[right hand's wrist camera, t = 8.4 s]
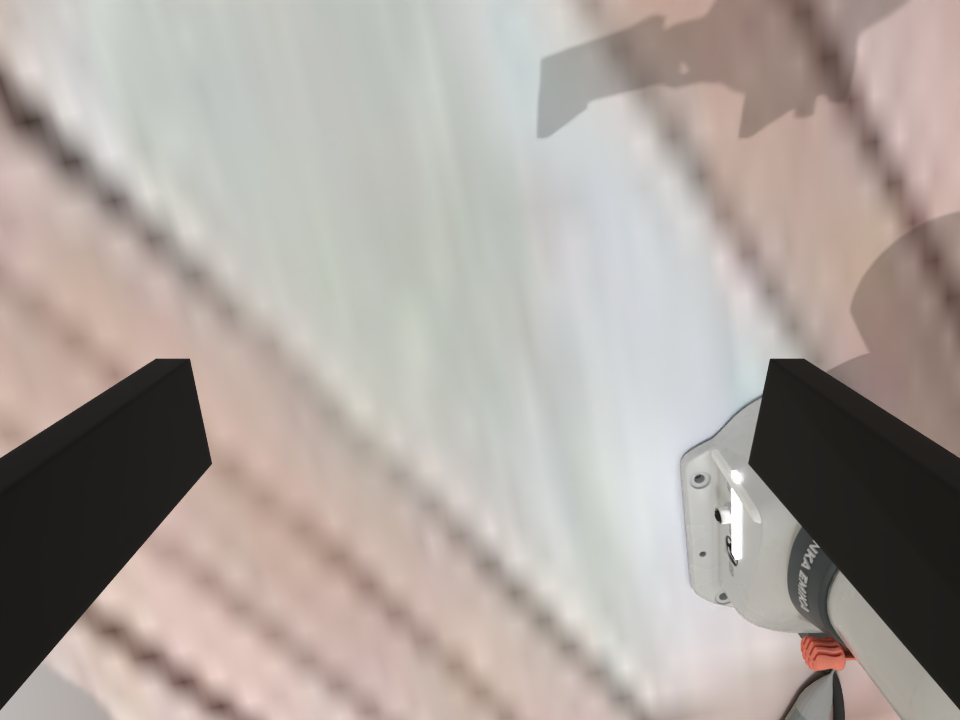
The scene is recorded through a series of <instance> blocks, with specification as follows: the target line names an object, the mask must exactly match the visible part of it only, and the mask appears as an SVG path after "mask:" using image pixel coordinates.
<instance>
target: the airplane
mask: <svg viewBox="0 0 960 720" xmlns="http://www.w3.org/2000/svg"><path fill="white" fill-rule="evenodd" d="M834 671H835V672H836V669H833V670H832V671H831V673H830V674H828V675H826V676H823V677H821V678H820V679H818V680H816V681H815V682H813V683H812V684H811V685H809V686H808V687H807V688H805V689H804V691H803V692H802V693H801V694H800V695H799V697H798V699H797V701H796V702H795V704H794V705H793V707H792V708H791V710H790V712H789V713H788V715H787V716H786V718H785V720H829V716H830V713H831V707H832V698H833V684H832V683H833V674H834Z"/></svg>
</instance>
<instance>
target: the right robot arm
mask: <svg viewBox="0 0 960 720" xmlns="http://www.w3.org/2000/svg"><path fill="white" fill-rule="evenodd" d="M211 464H212V461H211V457H210V452H209V447H208V442H207V438H206V433H205V428H204V423H203V419H202V414H201V409H200V405H199V400H198V395H197V390H196V386H195V381H194V376H193V371H192V367H191V362H190V359H155V360H153V361H152V362H150V363H149V364H147V365H145V366H144V367H142V368H141V369H139V370H138V371H136V372H134V373H133V374H131V375H130V376H128V377H127V378H125V379H124V380H122V381H120V382H119V383H117V384H116V385H114V386H113V387H111V388H109V389H108V390H106V391H105V392H103V393H102V394H100V395H98V396H97V397H95V398H94V399H92V400H91V401H89V402H87V403H86V404H84V405H83V406H81V407H80V408H78V409H77V410H75V411H73V412H72V413H70V414H69V415H67V416H66V417H64V418H62V419H61V420H59V421H58V422H56V423H55V424H53V425H51V426H50V427H48V428H47V429H45V430H44V431H42V432H41V433H39V434H37V435H36V436H34V437H33V438H31V439H30V440H28V441H26V442H25V443H23V444H22V445H20V446H19V447H17V448H15V449H14V450H12V451H11V452H9V453H8V454H6V455H4V456H3V457H1V458H0V710H1V709H2V708H3V706H4V705H5V704H6V703H7V702H8V701H9V699H10V698H11V697H12V696H13V695H14V694H15V692H16V691H17V690H18V689H19V688H20V687H21V685H22V684H23V683H24V682H25V681H26V680H27V679H28V677H29V676H30V675H31V674H32V673H33V671H34V670H35V669H36V668H37V667H38V666H39V665H40V663H41V662H42V661H43V660H44V659H45V658H46V656H47V655H48V654H49V653H50V652H51V651H52V649H53V648H54V647H55V646H56V645H57V644H58V642H59V641H60V640H61V639H62V638H63V637H64V635H65V634H66V633H67V632H68V631H69V630H70V628H71V627H72V626H73V625H74V624H75V623H76V621H77V620H78V619H79V618H80V617H81V616H82V615H83V613H84V612H85V611H86V610H87V609H88V608H89V606H90V605H91V604H92V603H93V602H94V601H95V599H96V598H97V597H98V596H99V595H100V594H101V592H102V591H103V590H104V589H105V588H106V587H107V585H108V584H109V583H110V582H111V581H112V580H113V578H114V577H115V576H116V575H117V574H118V573H119V571H120V570H121V569H122V568H123V567H124V566H125V564H126V563H127V562H128V561H129V560H130V559H131V557H132V556H133V555H134V554H135V553H136V552H137V550H138V549H139V548H140V547H141V546H142V545H143V544H144V542H145V541H146V540H147V539H148V538H149V537H150V535H151V534H152V533H153V532H154V531H155V530H156V528H157V527H158V526H159V525H160V524H161V523H162V521H163V520H164V519H165V518H166V517H167V516H168V514H169V513H170V512H171V511H172V510H173V509H174V507H175V506H176V505H177V504H178V503H179V502H180V500H181V499H182V498H183V497H184V496H185V495H186V493H187V492H188V491H189V490H190V489H191V488H192V486H193V485H194V484H195V483H196V482H197V481H198V480H199V478H200V477H201V476H202V475H203V474H204V473H205V471H206V470H207V469H208V468H209V467H210V466H211ZM748 464H749V466H750V467H751V468H752V469H753V470H754V471H755V473H756V474H757V475H758V476H759V477H760V478H761V480H762V481H763V482H764V483H765V484H766V485H767V486H768V488H769V489H770V490H771V491H772V492H773V493H774V495H775V496H776V497H777V498H778V499H779V500H780V502H781V503H782V504H783V505H784V506H785V507H786V509H787V510H788V511H789V512H790V513H791V514H792V516H793V517H794V518H795V519H796V520H797V521H798V523H799V524H800V525H801V526H802V527H803V528H804V530H805V531H806V532H807V533H808V534H809V535H810V537H811V538H812V539H813V540H814V541H815V542H816V544H817V545H818V546H819V547H820V548H821V549H822V550H823V552H824V553H825V554H826V555H827V556H828V557H829V559H830V560H831V561H832V562H833V563H834V564H835V566H836V567H837V568H838V569H839V570H840V571H841V573H842V574H843V575H844V576H845V577H846V578H847V580H848V581H849V582H850V583H851V584H852V585H853V587H854V588H855V589H856V590H857V591H858V592H859V594H860V595H861V596H862V597H863V598H864V599H865V601H866V602H867V603H868V604H869V605H870V606H871V608H872V609H873V610H874V611H875V612H876V613H877V615H878V616H879V617H880V618H881V619H882V620H883V621H884V623H885V624H886V625H887V626H888V627H889V628H890V630H891V631H892V632H893V633H894V634H895V635H896V637H897V638H898V639H899V640H900V641H901V642H902V644H903V645H904V646H905V647H906V648H907V649H908V651H909V652H910V653H911V654H912V655H913V656H914V658H915V659H916V660H917V661H918V662H919V663H920V665H921V666H922V667H923V668H924V669H925V670H926V672H927V673H928V674H929V675H930V676H931V677H932V679H933V680H934V681H935V682H936V683H937V684H938V685H939V687H940V688H941V689H942V690H943V691H944V692H945V694H946V695H947V696H948V697H949V698H950V699H951V701H952V702H953V703H954V704H955V705H956V706H957V708H958V709H959V710H960V458H959V457H957V456H956V455H954V454H952V453H951V452H949V451H948V450H946V449H945V448H943V447H941V446H940V445H938V444H937V443H935V442H934V441H932V440H930V439H929V438H927V437H926V436H924V435H923V434H921V433H919V432H918V431H916V430H915V429H913V428H912V427H910V426H909V425H907V424H905V423H904V422H902V421H901V420H899V419H898V418H896V417H894V416H893V415H891V414H890V413H888V412H887V411H885V410H883V409H882V408H880V407H879V406H877V405H876V404H874V403H873V402H871V401H869V400H868V399H866V398H865V397H863V396H862V395H860V394H858V393H857V392H855V391H854V390H852V389H851V388H849V387H847V386H846V385H844V384H843V383H841V382H840V381H838V380H836V379H835V378H833V377H832V376H830V375H829V374H827V373H826V372H824V371H822V370H821V369H819V368H818V367H816V366H815V365H813V364H811V363H810V362H808V361H807V360H805V359H770V362H769V367H768V371H767V376H766V381H765V386H764V390H763V395H762V400H761V405H760V409H759V414H758V419H757V423H756V428H755V433H754V438H753V442H752V447H751V452H750V457H749V461H748Z"/></svg>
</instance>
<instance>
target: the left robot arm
mask: <svg viewBox="0 0 960 720" xmlns="http://www.w3.org/2000/svg"><path fill="white" fill-rule="evenodd" d="M761 400H762V398H760V399H758V400H756V401H754V402H753V403H751V404H749V405H748V406H747V407H745V408H744V409H743V410H741V411H740V412H739V413H738V414H736V415H735V416H734V417H733V418H732V419H731V420H730V421H729V422H728V423H727V424H726V426H725V427H724V428H723V429H722V430H721V431H720V432H719V433H718V434H717V435H716V436H715V437H713V438H712V439H710V440H708V441H706V442H704V443H703V444H701V445H699V446H697V447H695V448H693V449H692V450H690V451H689V452H688V453H686V454H685V455H684V456H683V458H682V460H681V464H680V467H681V480H682V492H683V504H684V516H685V528H686V540H687V552H688V564H689V576H690V584H691V587H692V588H693V590H694V592H695V593H696V594H697V595H698V596H700V597H702V598H703V599H705V600H707V601H710V602H713V603H716V604H719V605H723V606H728V607H733V608H735V609H736V611H737V612H738V613H739V614H740V615H741V616H742V617H743V618H744V619H746V620H747V621H749V622H750V623H752V624H754V625H756V626H759V627H762V628H765V629H769V630H774V631H780V632H790V633H798V634H799V635H800V637H801V638H802V640H801V651H802V652H803V653H802V656H803V658H804V660H805V662H806V664H807V665H809V668H810V669H813V670H814V671H820V670H823V671H824V673H825V675H828V674H830V673H831V671H832V670H833V669H836V670H842V669H843V668H844V667H845V660H857V661H858V662H859V664H860V665H861V666H862V668H863V669H864V670H865V672H866V673H867V675H868V676H869V677H870V679H871V680H872V681H873V683H874V684H875V685H876V687H877V688H878V689H879V691H880V692H881V693H882V695H883V696H884V697H885V699H886V700H887V701H888V703H889V704H890V705H891V707H892V708H893V709H894V711H895V712H896V713H897V715H898V716H899V717H900V719H901V720H960V710H959V709H958V708H957V706H956V705H955V704H954V703H953V702H952V701H951V699H950V698H949V697H948V696H947V695H946V694H945V692H944V691H943V690H942V689H941V688H940V687H939V685H938V684H937V683H936V682H935V681H934V680H933V679H932V677H931V676H930V675H929V674H928V673H927V672H926V670H925V669H924V668H923V667H922V666H921V665H920V663H919V662H918V661H917V660H916V659H915V658H914V656H913V655H912V654H911V653H910V652H909V651H908V649H907V648H906V647H905V646H904V645H903V644H902V642H901V641H900V640H899V639H898V638H897V637H896V635H895V634H894V633H893V632H892V631H891V630H890V628H889V627H888V626H887V625H886V624H885V623H884V621H883V620H882V619H881V618H880V617H879V616H878V615H877V613H876V612H875V611H874V610H873V609H872V608H871V606H870V605H869V604H868V603H867V602H866V601H865V599H864V598H863V597H862V596H861V595H860V594H859V592H858V591H857V590H856V589H855V588H854V587H853V585H852V584H851V583H850V582H849V581H848V580H847V578H846V577H845V576H844V575H843V574H842V573H841V571H840V570H839V569H838V568H837V567H836V566H835V564H834V563H833V562H832V561H831V560H830V559H829V557H828V556H827V555H826V554H825V553H824V552H823V550H822V549H821V548H820V547H819V546H818V545H817V544H816V542H815V541H814V540H813V539H812V538H811V537H810V535H809V534H808V533H807V532H806V531H805V530H804V528H803V527H802V526H801V525H800V524H799V523H798V521H797V520H796V519H795V518H794V517H793V516H792V514H791V513H790V512H789V511H788V510H787V509H786V507H785V506H784V505H783V504H782V503H781V502H780V500H779V499H778V498H777V497H776V496H775V495H774V493H773V492H772V491H771V490H770V489H769V488H768V486H767V485H766V484H765V483H764V482H763V481H762V480H761V478H760V477H759V476H758V475H757V474H756V473H755V471H754V470H753V469H752V468H751V467H750V466H749V464H748V461H749V457H750V452H751V447H752V442H753V438H754V433H755V428H756V423H757V419H758V414H759V409H760V405H761ZM697 475H701V476H700V477H699V478H696V479H695V477H696V476H697ZM832 684H833V698H832V699H833V706H834V720H845V710H844V700H843V694H842V689H841V685H840V682H839V679H838V676H837V674H836V672H835V671H834V674H833V683H832Z"/></svg>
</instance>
